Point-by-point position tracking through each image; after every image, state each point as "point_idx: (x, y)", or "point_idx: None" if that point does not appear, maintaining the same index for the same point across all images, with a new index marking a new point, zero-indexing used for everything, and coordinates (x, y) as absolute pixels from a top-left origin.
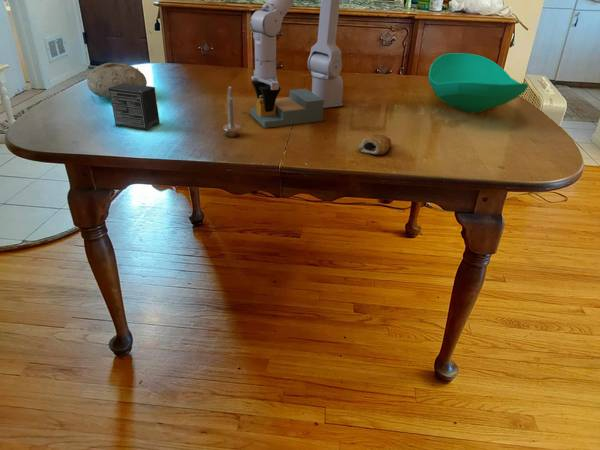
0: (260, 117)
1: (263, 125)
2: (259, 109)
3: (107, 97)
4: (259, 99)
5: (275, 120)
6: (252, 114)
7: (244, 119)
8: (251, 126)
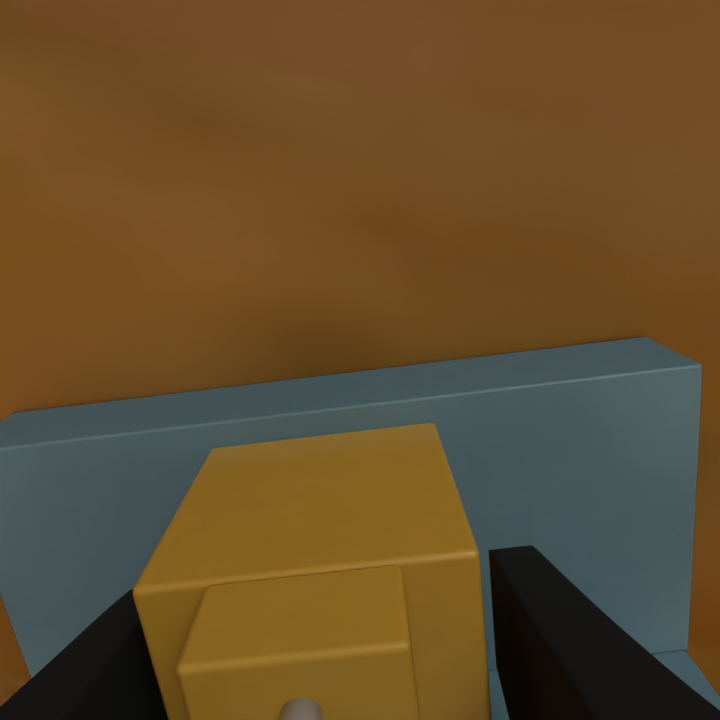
0: (186, 436)
1: (47, 415)
2: (250, 501)
3: None
4: (276, 688)
5: (11, 620)
6: (566, 356)
7: (460, 190)
8: (109, 236)
